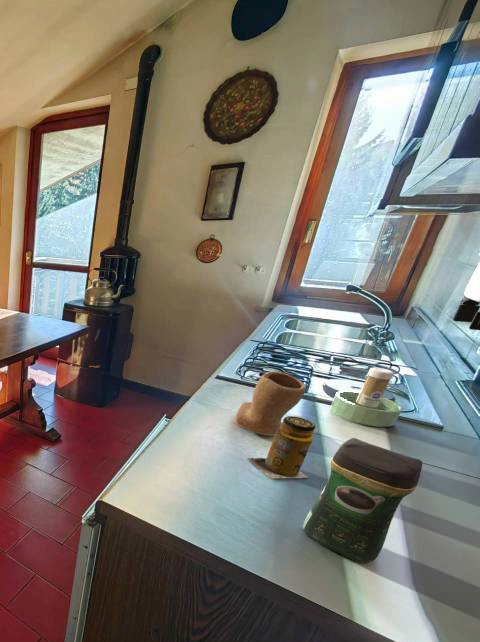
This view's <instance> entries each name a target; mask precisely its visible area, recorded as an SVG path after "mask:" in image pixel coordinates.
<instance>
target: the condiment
mask: <svg viewBox="0 0 480 642" xmlns="http://www.w3.org/2000/svg"><path fill="white" fill-rule="evenodd" d="M315 429H316V424H315V423H314V422H312V421H311V420H309V419H306V418H304V417H300V416H296V415H295V416H292V415H288V416H287V415H286V416H285V417H283V418H282V421H281V426H280V427H279V428H278V429H277V431H276V434H275V435H273V439H272V442H271V444H270V447H269V449H268V453H267V455H266V457H258V458H255V457H247V458H246V459H247V460H248V461H249V462H250V464H252V465H253V466H254V467H256V468H257V469H258V470H259V471H260V472H262V473H263V474H264V475H265V476H267V477H268V478H269V479H271V480H272V479H309V476H308V475H306V474H305V473H303V472H301V471H300V470H301V468H302V466H303V464H304V461H305V459H306V456H307V454H308V452H309V449H310V447H311V445H312V443H313V440H314V437H313V434H314V431H315Z"/></svg>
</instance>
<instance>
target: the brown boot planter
mask: <svg viewBox="0 0 480 642" xmlns="http://www.w3.org/2000/svg"><path fill="white" fill-rule="evenodd" d="M306 390H307V387H306V385H305V384H304V383H303V381H301V380H300V379H298V378H297V377H295V376H292V375H291V374H288V373H285V372H281V371H267V372H265V373H264V374H262V375H261V377H260V378H259V379H258V381H257V383H256V386H255V387H254V389H253V392H252V398H251V399H252V400H251V401H244V402H242V403H241V404H240V406H239V407H238V409H237V411H236V413H235V416H234V424H235V425H236V426H238V427H239V428H241V429H243V430H245V431H248V432H252V433H254V434H258V435H261V436H268V437H272V436H273V437H274V436H275V434H276V431H277V429H278V428H279V427H280V426H281V424H282V420H283V418H284V416H285V415H286V414H287V413H288V412H290V411H291V410H292V409H294V408H295V406H297V405H298V403H299V402H301V400H302V398H303V396H304V395H305V394H306Z"/></svg>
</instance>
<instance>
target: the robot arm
mask: <svg viewBox="0 0 480 642" xmlns="http://www.w3.org/2000/svg"><path fill="white" fill-rule="evenodd" d="M479 256H480V252H479V254H478V257H479ZM473 271H474V272H473V273H472V274H471V277H470V279H469V281H468V283H467V285H466V287H465V290H464V292H463V298H462V299H461V300H460V304H459V306H458V307H457V310H456V312H455V314H454V316H453V318H452V321H454V322H461V323H463V322H464V323H470V324H469V326H468V329H469V330H470V331H471V330H473V331H480V262H478V265H476V268H475V270H473Z"/></svg>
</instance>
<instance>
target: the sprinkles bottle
mask: <svg viewBox="0 0 480 642" xmlns="http://www.w3.org/2000/svg"><path fill="white" fill-rule="evenodd" d="M394 375H395V372H394V371H392V370H390V369H387V368H383V367H371V368H369V370H368V373H367V376H366V378H365V381H364V383H363V384H362V386H361V389H360V391H359V392H360V393H359V395H358V398H357V400H356V403H355V404H356V405H359V406H363V407H366V408H371V409H376V408H377V407H378V405H379V403H380V401H381V399H382V397H383V396H384V394H385V392H386V389H387V387H388V385H389V383H390V381H391V380H392V379H393V377H394Z"/></svg>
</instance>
